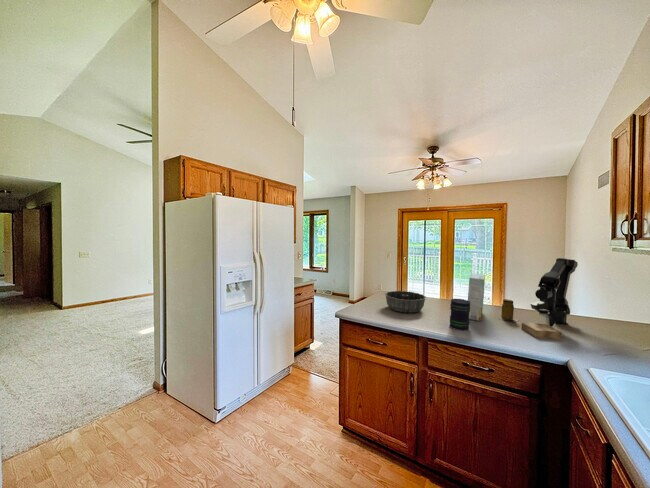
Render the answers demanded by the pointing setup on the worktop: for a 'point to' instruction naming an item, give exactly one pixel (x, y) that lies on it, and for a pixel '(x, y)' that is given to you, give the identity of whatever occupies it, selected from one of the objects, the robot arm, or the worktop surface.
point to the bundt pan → (405, 301)
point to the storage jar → (460, 314)
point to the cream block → (545, 320)
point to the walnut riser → (541, 331)
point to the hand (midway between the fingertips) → (547, 324)
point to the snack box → (476, 296)
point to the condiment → (507, 310)
